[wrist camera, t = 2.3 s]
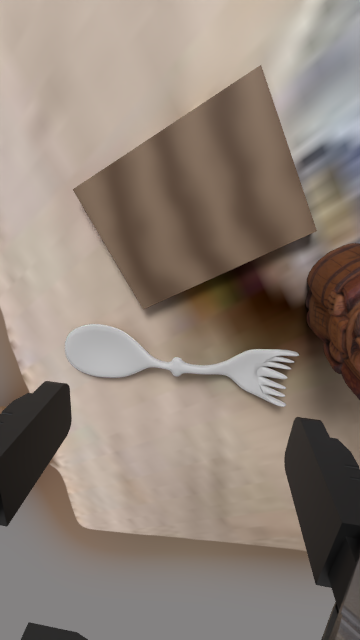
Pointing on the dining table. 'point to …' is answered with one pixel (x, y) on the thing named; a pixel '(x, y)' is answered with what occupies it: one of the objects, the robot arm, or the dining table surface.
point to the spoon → (130, 357)
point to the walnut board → (200, 195)
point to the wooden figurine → (338, 310)
